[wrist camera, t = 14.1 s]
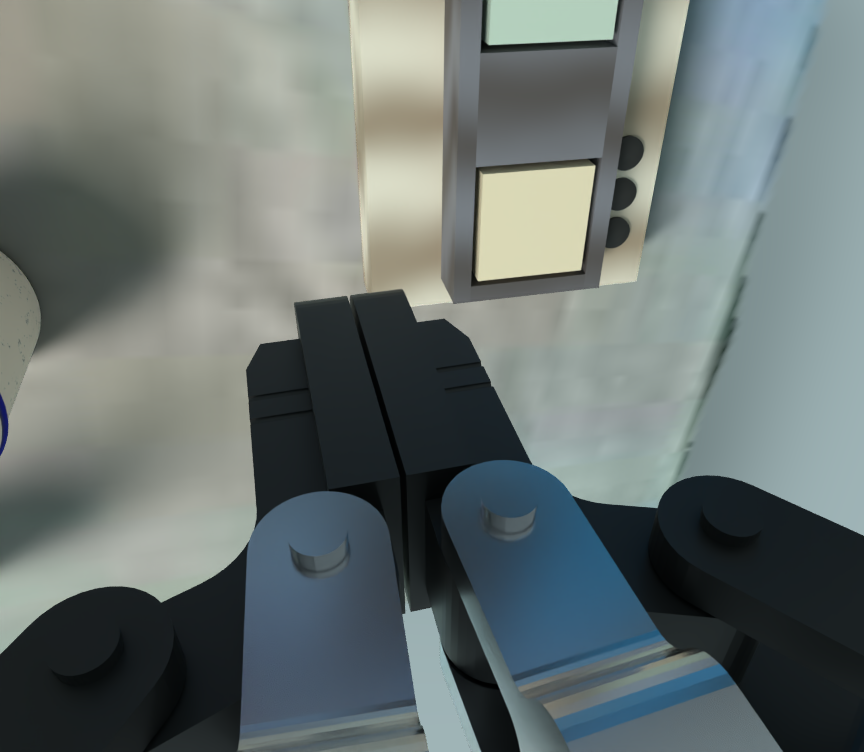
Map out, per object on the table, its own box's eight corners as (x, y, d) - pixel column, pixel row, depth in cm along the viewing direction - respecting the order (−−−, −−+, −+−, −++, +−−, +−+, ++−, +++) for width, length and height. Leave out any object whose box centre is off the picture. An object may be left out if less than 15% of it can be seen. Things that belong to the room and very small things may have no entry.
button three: (562, 247, 36) (580, 270, 34) (464, 257, 35) (477, 281, 33) (574, 147, 33) (595, 165, 31) (468, 155, 32) (483, 174, 30)
